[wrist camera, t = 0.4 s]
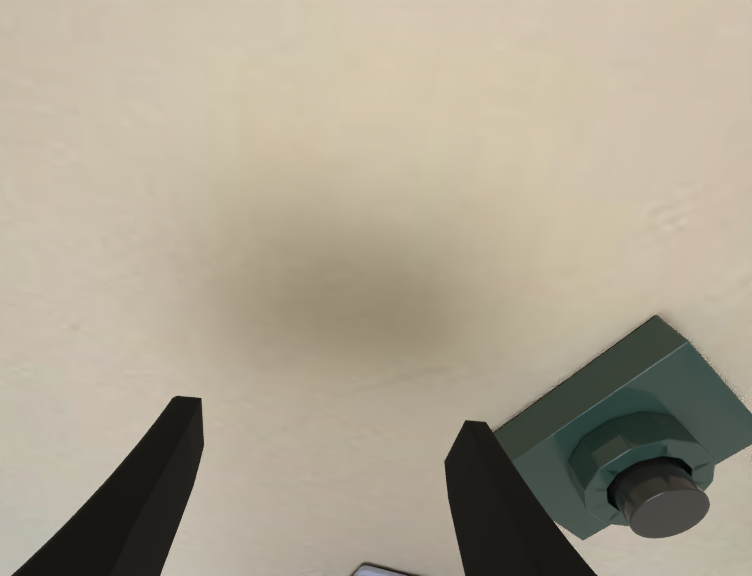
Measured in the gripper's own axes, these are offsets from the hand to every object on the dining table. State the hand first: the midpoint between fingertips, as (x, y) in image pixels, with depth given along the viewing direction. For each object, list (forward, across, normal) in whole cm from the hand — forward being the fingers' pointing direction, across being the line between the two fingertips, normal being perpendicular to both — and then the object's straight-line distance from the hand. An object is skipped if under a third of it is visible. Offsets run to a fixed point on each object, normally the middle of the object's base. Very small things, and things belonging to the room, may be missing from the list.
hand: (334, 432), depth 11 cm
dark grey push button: (+5, -18, +8) cm, 21 cm away
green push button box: (+9, -18, +9) cm, 22 cm away
